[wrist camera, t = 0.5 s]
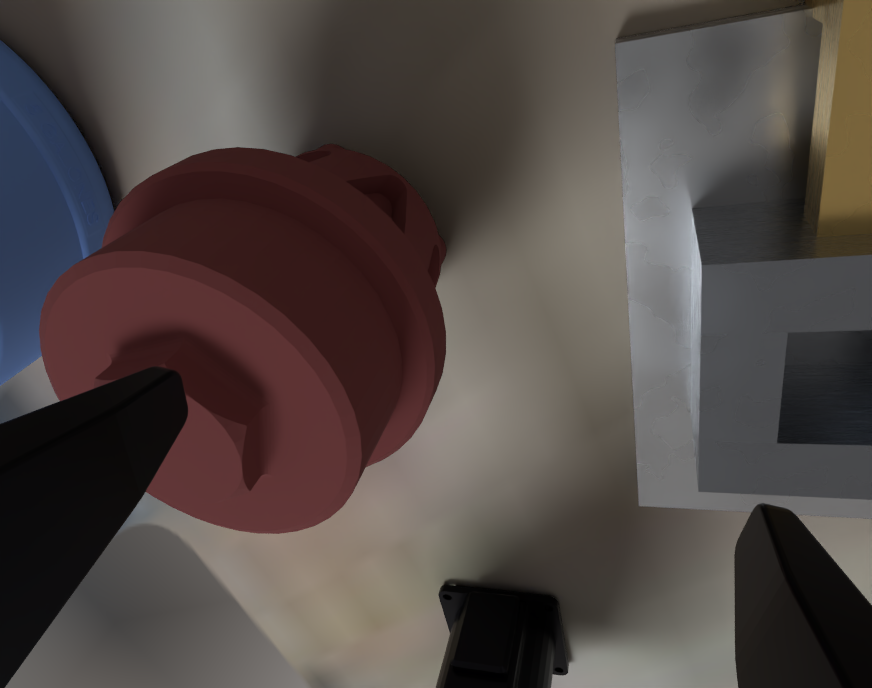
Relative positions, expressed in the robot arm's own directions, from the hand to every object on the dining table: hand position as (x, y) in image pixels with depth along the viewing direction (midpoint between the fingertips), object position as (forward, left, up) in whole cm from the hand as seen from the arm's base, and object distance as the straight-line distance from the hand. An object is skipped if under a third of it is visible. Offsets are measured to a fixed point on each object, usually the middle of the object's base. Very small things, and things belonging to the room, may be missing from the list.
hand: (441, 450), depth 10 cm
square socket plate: (-5, -8, -14) cm, 17 cm away
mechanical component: (-1, +7, -14) cm, 16 cm away
